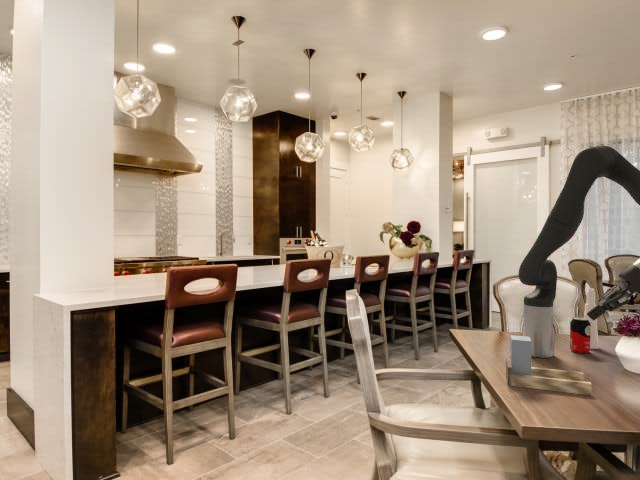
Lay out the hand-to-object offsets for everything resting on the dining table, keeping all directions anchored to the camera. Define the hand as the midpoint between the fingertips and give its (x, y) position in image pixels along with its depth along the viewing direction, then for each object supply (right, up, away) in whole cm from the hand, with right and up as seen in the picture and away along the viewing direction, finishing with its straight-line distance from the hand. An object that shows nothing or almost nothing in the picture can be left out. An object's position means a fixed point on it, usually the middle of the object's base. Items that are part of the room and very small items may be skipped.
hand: (589, 317), depth 118 cm
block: (-16, -18, +6) cm, 25 cm away
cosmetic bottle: (+29, -20, +47) cm, 58 cm away
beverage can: (+21, -20, +40) cm, 49 cm away
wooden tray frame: (-10, -19, +4) cm, 22 cm away
